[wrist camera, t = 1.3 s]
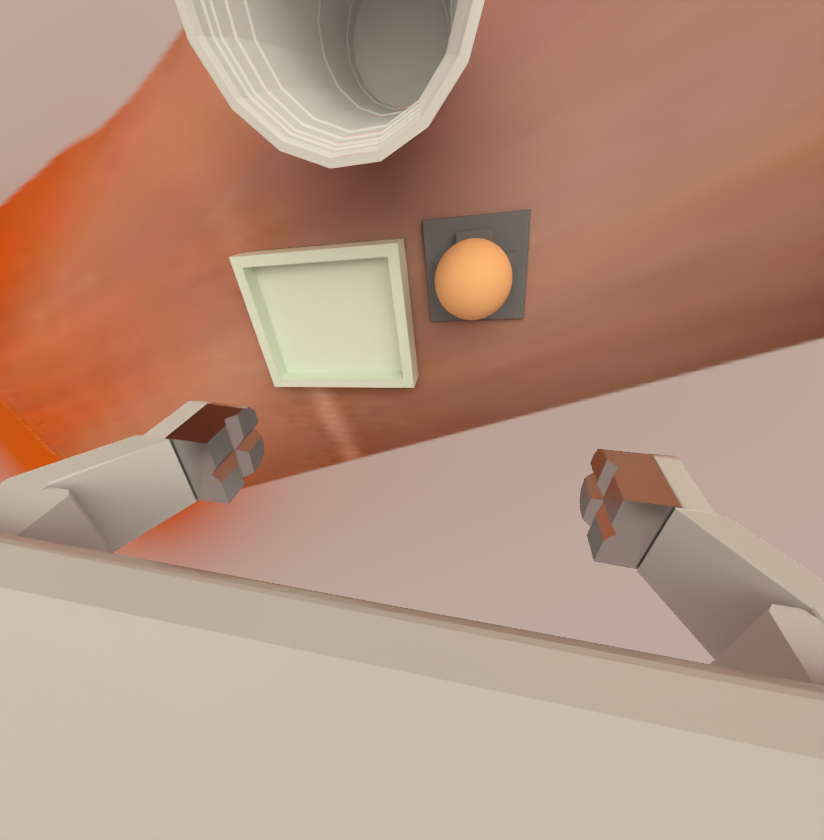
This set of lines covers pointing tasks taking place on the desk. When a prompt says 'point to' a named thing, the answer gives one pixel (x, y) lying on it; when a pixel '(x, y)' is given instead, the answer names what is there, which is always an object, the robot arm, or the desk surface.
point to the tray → (332, 313)
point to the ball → (473, 279)
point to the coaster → (494, 227)
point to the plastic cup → (334, 68)
